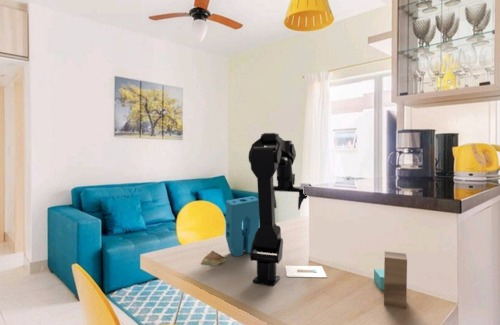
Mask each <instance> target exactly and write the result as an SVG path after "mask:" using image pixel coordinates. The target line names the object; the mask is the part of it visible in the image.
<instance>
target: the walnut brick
mask: <svg viewBox="0 0 500 325" xmlns="http://www.w3.org/2000/svg"><path fill="white" fill-rule="evenodd" d="M383 264H384V265H383V266H384V268H383V269H384V290H383V305H384V306H388V307H394V308H400V309H401V308H402V309H407V292H408V291H407V286H408V285H407V284H408V282H407V281H408V278H407V276H408V258H407V253H403V252H394V251H384V262H383Z"/></svg>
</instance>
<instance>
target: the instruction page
mask: <svg viewBox="0 0 500 325" xmlns="http://www.w3.org/2000/svg"><path fill="white" fill-rule="evenodd" d="M284 266H285V273H286V277H287V278H313V279H314V278H315V279H316V278H317V279H318V278H320V279H327V278H328V276H327V274H326V271H325V270H324V268H323V266H322V265H284Z"/></svg>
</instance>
